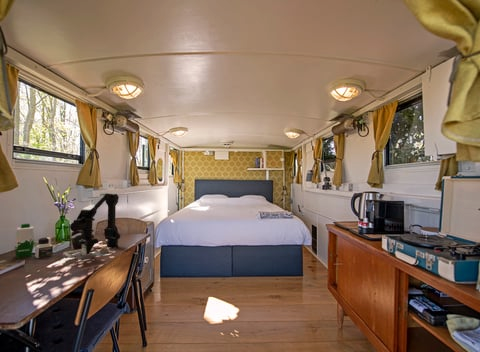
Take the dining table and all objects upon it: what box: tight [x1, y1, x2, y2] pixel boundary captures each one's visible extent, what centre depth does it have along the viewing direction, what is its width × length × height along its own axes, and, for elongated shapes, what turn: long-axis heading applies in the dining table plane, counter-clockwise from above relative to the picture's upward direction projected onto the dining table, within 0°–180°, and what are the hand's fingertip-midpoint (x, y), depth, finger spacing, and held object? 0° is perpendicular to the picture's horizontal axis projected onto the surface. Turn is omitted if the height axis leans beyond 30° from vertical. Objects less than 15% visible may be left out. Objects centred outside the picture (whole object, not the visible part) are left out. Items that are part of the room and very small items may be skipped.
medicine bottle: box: [34, 236, 54, 259], centre depth 150 cm, size 7×7×12 cm
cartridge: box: [81, 243, 90, 256], centre depth 149 cm, size 5×5×8 cm
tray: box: [62, 249, 82, 259], centre depth 153 cm, size 10×10×2 cm
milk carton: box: [14, 223, 35, 259], centre depth 151 cm, size 9×9×20 cm
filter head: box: [75, 248, 112, 261], centre depth 153 cm, size 18×10×3 cm, turn 145°
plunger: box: [100, 245, 108, 250], centre depth 158 cm, size 4×4×3 cm
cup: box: [70, 231, 95, 250], centre depth 171 cm, size 10×14×12 cm
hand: (86, 253), depth 149 cm, fingers closed on cartridge, 5 cm apart
